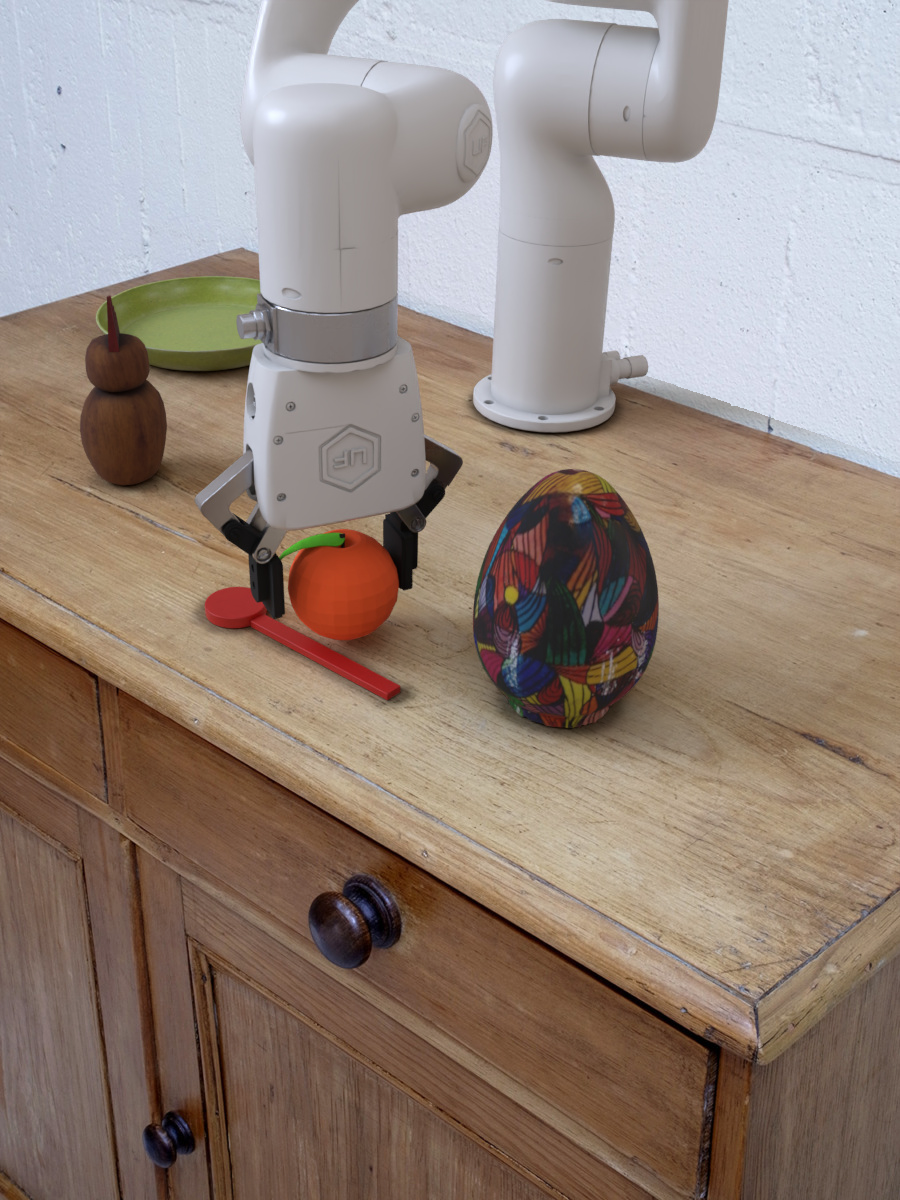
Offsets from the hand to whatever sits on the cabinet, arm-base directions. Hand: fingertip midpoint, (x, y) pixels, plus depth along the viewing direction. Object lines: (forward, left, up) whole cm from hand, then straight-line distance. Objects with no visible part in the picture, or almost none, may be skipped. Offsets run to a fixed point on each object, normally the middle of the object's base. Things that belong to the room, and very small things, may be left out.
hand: (335, 592), depth 82 cm
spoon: (+3, 0, -3) cm, 4 cm away
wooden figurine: (+6, -28, -4) cm, 29 cm away
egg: (-10, +11, -4) cm, 15 cm away
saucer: (-7, -54, -4) cm, 55 cm away
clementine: (0, 0, -3) cm, 3 cm away
